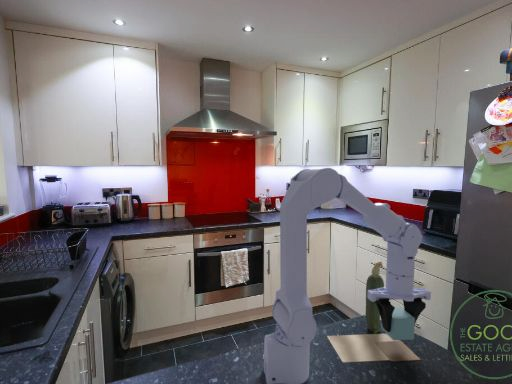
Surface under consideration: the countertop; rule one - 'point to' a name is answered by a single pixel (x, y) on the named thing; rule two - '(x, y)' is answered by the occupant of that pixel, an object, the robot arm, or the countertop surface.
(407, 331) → the teal block
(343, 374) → the countertop surface
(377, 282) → the vegetable
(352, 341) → the maple board
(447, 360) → the countertop surface
